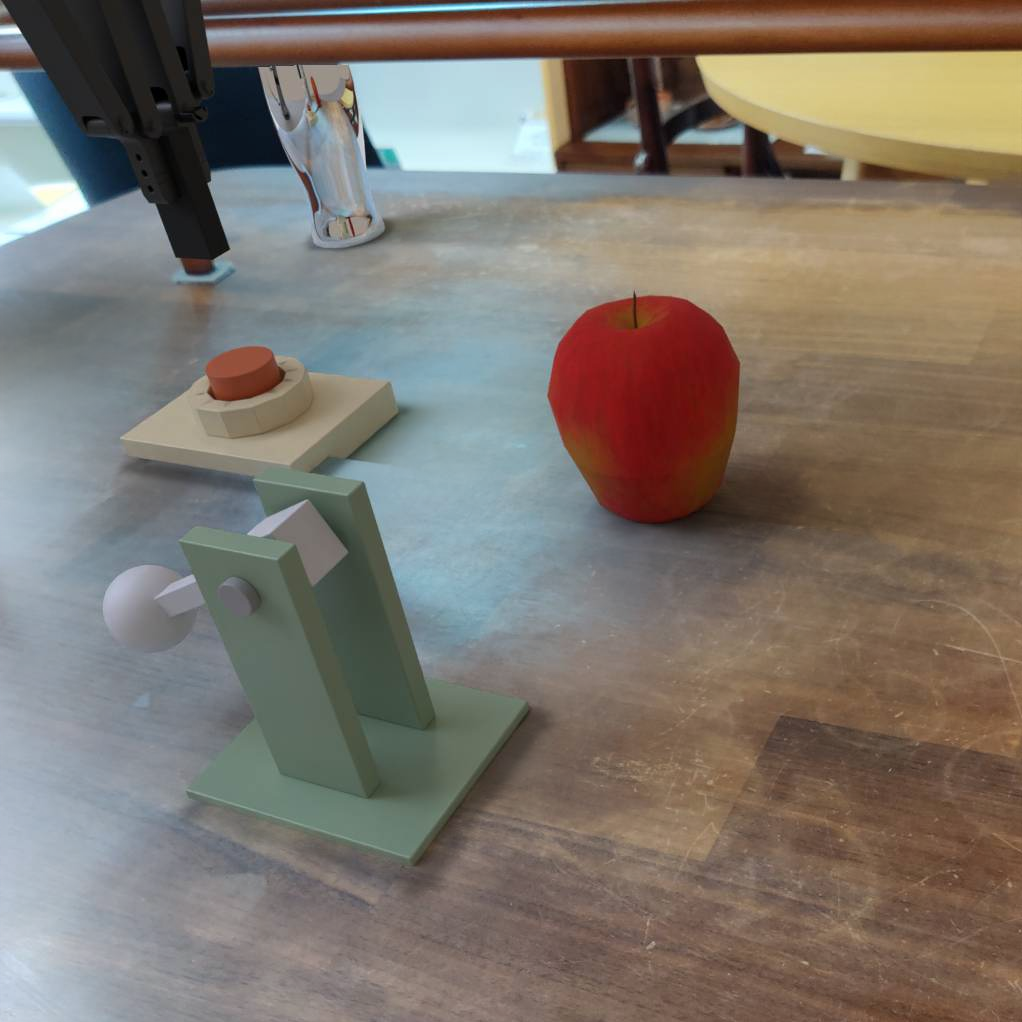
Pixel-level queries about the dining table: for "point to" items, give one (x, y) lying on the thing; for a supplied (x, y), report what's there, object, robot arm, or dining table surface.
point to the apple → (647, 404)
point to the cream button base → (266, 423)
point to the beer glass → (325, 149)
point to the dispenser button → (243, 373)
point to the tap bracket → (336, 685)
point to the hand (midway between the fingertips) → (202, 253)
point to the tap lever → (174, 600)
